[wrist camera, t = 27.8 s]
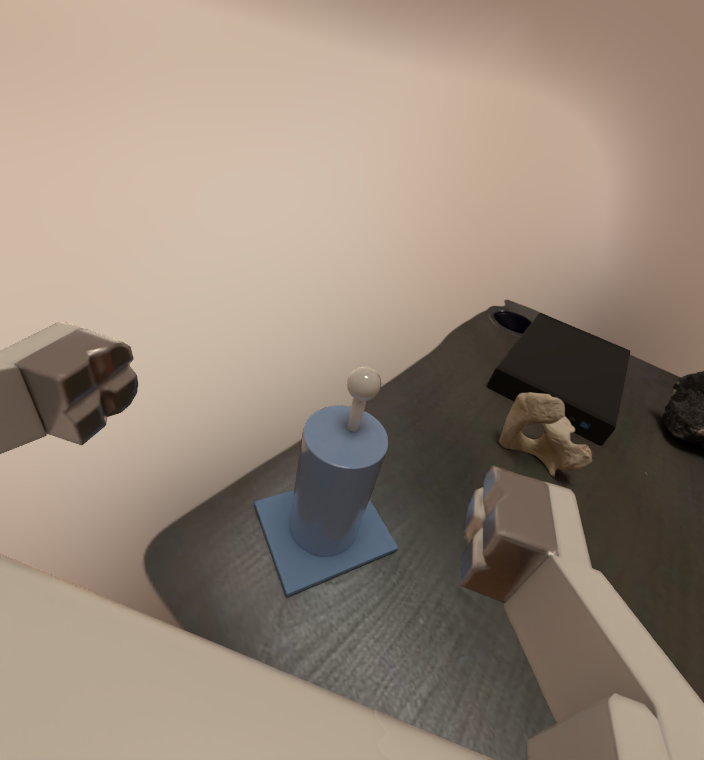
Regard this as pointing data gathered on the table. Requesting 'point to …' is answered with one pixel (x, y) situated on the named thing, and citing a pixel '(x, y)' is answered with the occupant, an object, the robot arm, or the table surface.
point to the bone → (556, 436)
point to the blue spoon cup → (338, 470)
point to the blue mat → (308, 568)
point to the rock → (687, 409)
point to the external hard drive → (567, 374)
